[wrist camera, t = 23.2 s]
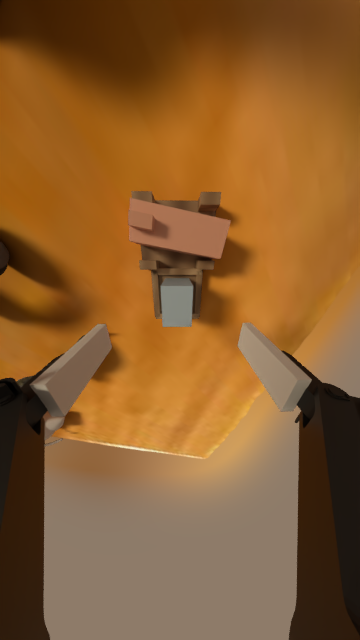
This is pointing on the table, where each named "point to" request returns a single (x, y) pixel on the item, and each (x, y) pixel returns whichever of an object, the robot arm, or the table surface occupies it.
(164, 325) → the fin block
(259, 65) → the table surface
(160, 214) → the pink slab with ridge
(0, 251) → the headphones
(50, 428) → the toy
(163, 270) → the jig
